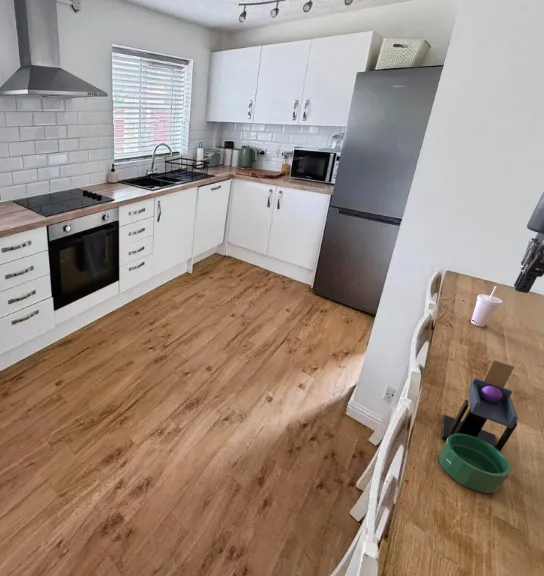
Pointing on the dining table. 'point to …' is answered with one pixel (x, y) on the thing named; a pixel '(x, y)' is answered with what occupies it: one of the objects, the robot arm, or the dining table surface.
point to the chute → (495, 411)
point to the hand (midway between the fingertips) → (520, 289)
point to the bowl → (474, 463)
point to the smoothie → (485, 308)
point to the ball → (491, 394)
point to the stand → (473, 427)
